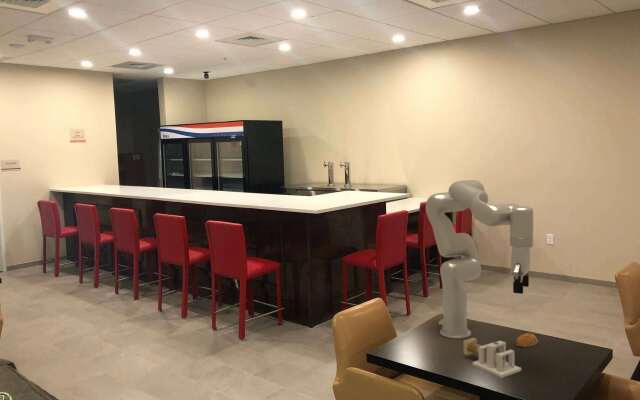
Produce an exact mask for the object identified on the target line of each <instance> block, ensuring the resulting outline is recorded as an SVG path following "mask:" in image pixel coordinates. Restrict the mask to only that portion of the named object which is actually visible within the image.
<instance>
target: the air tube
mask: <svg viewBox="0 0 640 400" xmlns="http://www.w3.org/2000/svg"><path fill="white" fill-rule="evenodd" d="M462 345H463V355H466V356H469V355H471V354H475V355H477V356H479V347H480V346H482V345H481V344H479V343H478V342H477V338H475V337H471V338H468V339H465V340H463V343H462ZM498 353H499V351H497V350H496V351H494V362H496V354H498ZM484 354H485V358H487V348H486V349H484ZM505 359H506V360H507V356H506V357H505V356H503V363H504V362H505ZM496 363H497V362H496Z"/></svg>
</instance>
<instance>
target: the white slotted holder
mask: <svg viewBox="0 0 640 400" xmlns="http://www.w3.org/2000/svg"><path fill="white" fill-rule="evenodd" d="M486 348H487V358H485V354H484V349H486ZM497 348H498V349H497ZM497 350H498V352H499V353H498V354H496V362H497V363H496V362H494V351H497ZM503 356H505V357H506V359H505V362H504V363H503ZM507 356H508V359H507ZM515 358H516V357H515V350H513V349H508V350H507V342H505V341H502V340H498V341H495V342H490V343H487V344H484V345H481V346H480V347H479V355H478V360H476V361H472V362H471V364H472V366H474V367H476V368H478V369H481V370H483V371H484V372H487V373H489V374H492V375H494V376H496V377H498V378H501V379H503V378H505V377H509V376H511V375H514V374H516V373H519V372H521V371H522V367H521V366H520V367H519V366H518V365H515V362H516V361H515ZM507 360H508V361H507Z"/></svg>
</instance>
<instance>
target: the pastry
mask: <svg viewBox="0 0 640 400" xmlns="http://www.w3.org/2000/svg"><path fill="white" fill-rule="evenodd" d="M538 343H539V340H538V338H537V337H536V335H535V334H533V333H531V332H528V333H527V332H525V333H524V334H520V335H519V336H518V337H517V339H516V340H515V346H517V347H520V348H531V347H533V346H536V345H537V344H538Z"/></svg>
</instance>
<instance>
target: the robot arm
mask: <svg viewBox="0 0 640 400" xmlns="http://www.w3.org/2000/svg"><path fill="white" fill-rule="evenodd" d="M488 203H489V195H488V194H487V192H486V191H485V187H484V185H483V183H481V182H480V181H479V180H475V179H474V180H472V179H471V180H470V179H469V180H458V181H454V182H453V183H452V184H450V186H449V188H448V192H446V191H445V192H437V193H433V194H432V195H430V196H429V197H428V198H427V199H426V203H425V212H426V215H427V218H428V220H429V223H430V224H431V227H432V231H433V235H434V240H435V243H436V246H437V250H438V253H439V254H440V256H442V257H444V258H452V257H460V258H455V259H449V260H447V261H444V262H443V263H442V264H441V265H440V268H439V270H440V271H439V272H440V278H441V282H442V297H443V298H442V300H443V303H442V304H443V305H442V307H443V318H441V319H440V320H439V321H438V325H441V329H440V330H439V333H440V335H441V336H443V337H445V338H449V339H458V340H459V339H466V338H469V337H470V336H472V331H471V330H470V329H469V328H468V311H467V310H468V309H467V308H468V306H467V305H468V303H467V302H468V301H467V290H466V288H465V286H464V285H463V283H464V282H467V281H474V280H477V279H479V277H481V274H482V266H481V262H480V258H479V254H478V250H477V247H476V244H475V240H474V239H473V237H472V236H471V235H470V234H468V233H466V232H457V233H456V232H455V228H454V225H453V222H452V221H451V219H450V218H449V217H448V216H447V215H446V214H445V213H454V212H463V211H465V210H467V209H470V211H471V214H472V216H473V218H474V219H475V220H477V221H478V222H480V223H482V224H483V225H486V226H488V227H498V226H509V246H510V247H511V254H510V270H509V272H510V275H512V276H513V279H512V280H513V281H512V285H513V286H512V292H513V294H521V295H523V294H524V287H527V288H528V287H529V285H530V283H529V281H530V280H529V279H530V275H529V273H530V272H529V271H530V268H531V248H533V247H534V209H533V208H532V207H531V206H527V205H526V206H524V205H518V204H515V203H501V204H493V205H491V204H488Z"/></svg>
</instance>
